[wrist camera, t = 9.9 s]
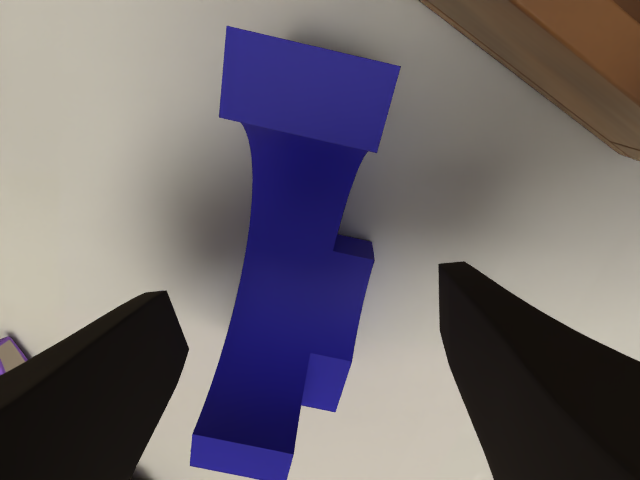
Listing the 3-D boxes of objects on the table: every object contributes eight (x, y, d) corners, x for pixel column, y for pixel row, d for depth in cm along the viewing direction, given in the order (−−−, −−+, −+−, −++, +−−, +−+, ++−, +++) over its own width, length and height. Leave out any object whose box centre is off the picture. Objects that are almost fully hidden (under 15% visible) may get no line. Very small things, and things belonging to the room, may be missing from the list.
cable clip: (337, 356, 17) (332, 494, 12) (240, 336, 17) (189, 465, 11) (422, 75, 12) (486, 86, 6) (282, 43, 12) (226, 25, 6)
